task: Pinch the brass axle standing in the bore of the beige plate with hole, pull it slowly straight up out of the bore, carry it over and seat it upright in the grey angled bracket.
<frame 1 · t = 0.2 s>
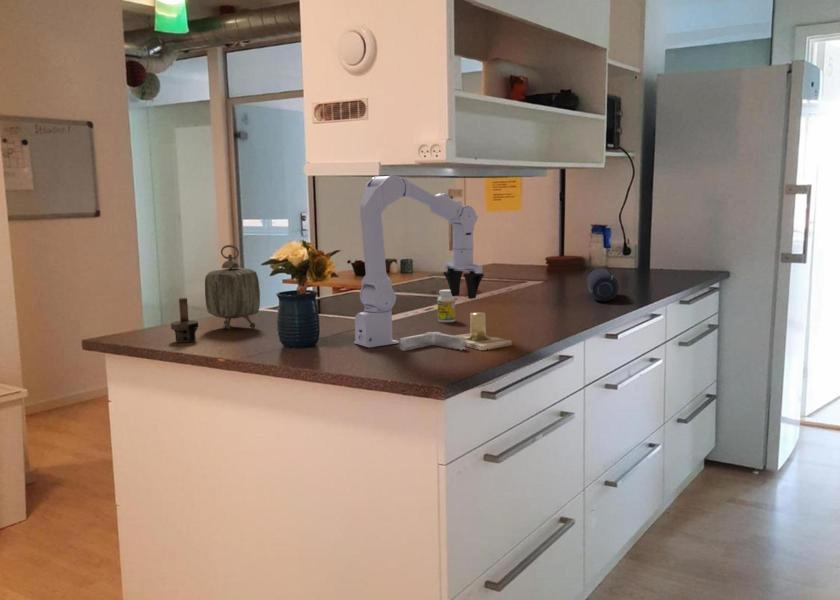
hand: (463, 297, 218), 10 cm above the table, fingers open, 7 cm apart
tabletop clock: (233, 329, 233), on the table
industrial component: (184, 341, 215), on the table
brass axle: (477, 328, 203), in the beige plate with hole
portable speaker: (602, 298, 281), on the table
grey angled bracket: (433, 348, 198), on the table
beige plate with hole: (478, 343, 203), on the table
supplement bottle: (446, 321, 238), on the table
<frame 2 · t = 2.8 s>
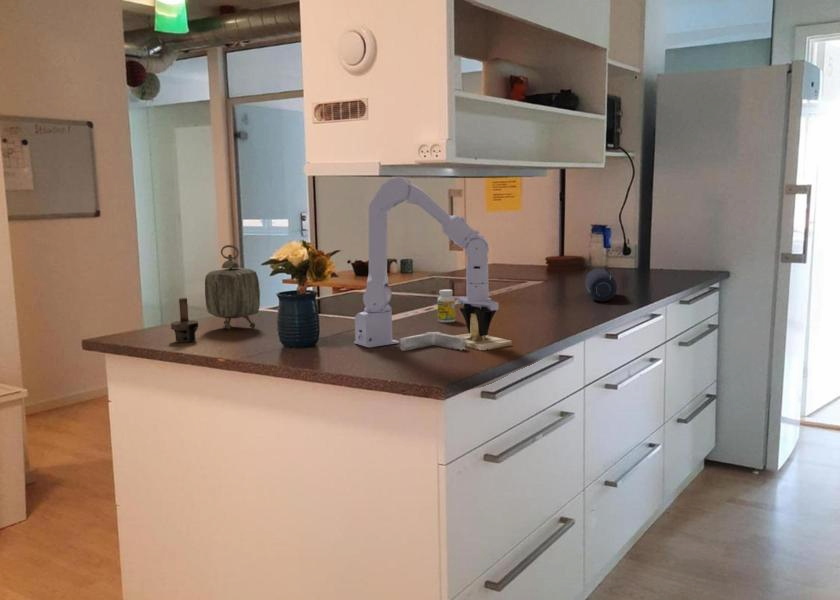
hand: (477, 334, 203), 2 cm above the table, fingers closed on brass axle, 4 cm apart
brass axle: (477, 328, 203), in the beige plate with hole, touching gripper
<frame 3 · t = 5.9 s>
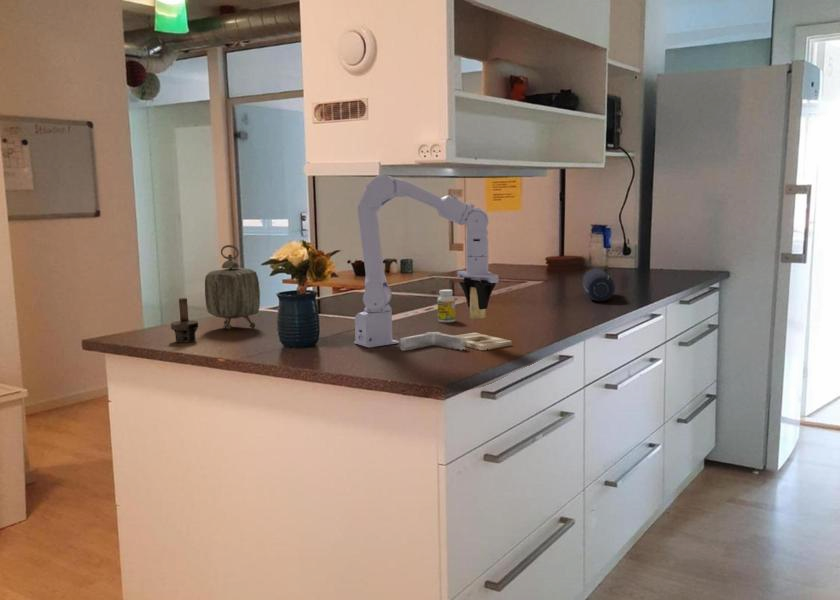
hand: (477, 308, 202), 9 cm above the table, fingers closed on brass axle, 4 cm apart
brass axle: (477, 302, 202), point 11 cm above the table, touching gripper
when the fingers open (4 cm above the table, at t = 9.0 s): brass axle drops 2 cm, on the table.
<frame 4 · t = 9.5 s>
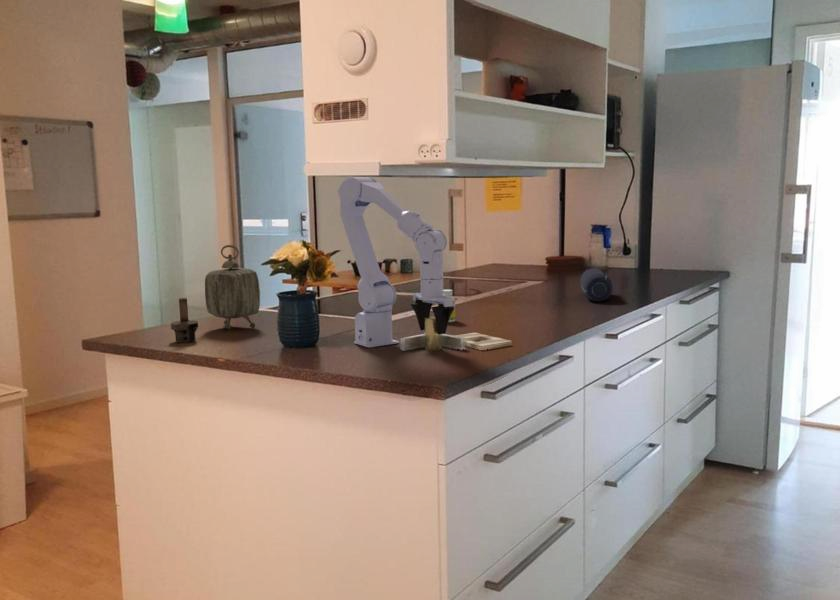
hand: (432, 331, 197), 4 cm above the table, fingers open, 7 cm apart
brass axle: (432, 333, 197), in the grey angled bracket
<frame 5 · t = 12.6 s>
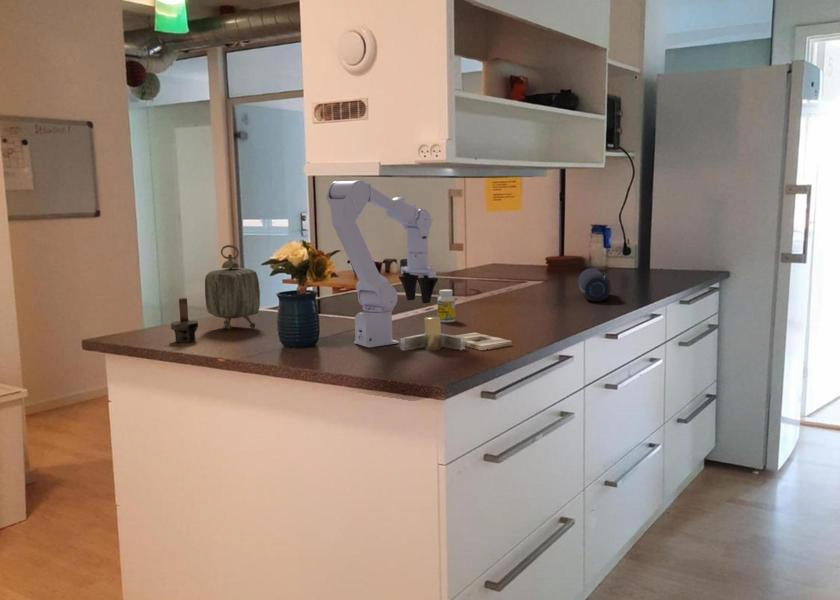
hand: (418, 301, 215), 9 cm above the table, fingers open, 7 cm apart
at the end: brass axle 0.0 cm off-centre on the grey angled bracket, point 4.0 cm above the grey angled bracket's base; brass axle tilted 0°; the gripper is holding nothing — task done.
